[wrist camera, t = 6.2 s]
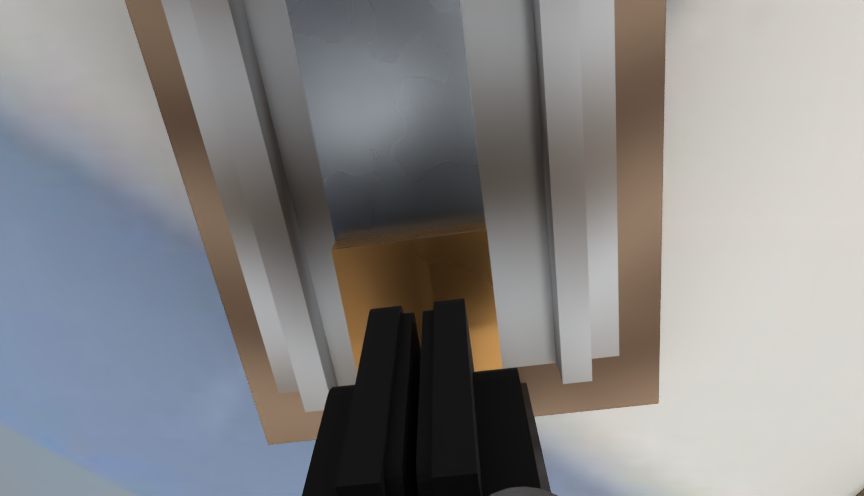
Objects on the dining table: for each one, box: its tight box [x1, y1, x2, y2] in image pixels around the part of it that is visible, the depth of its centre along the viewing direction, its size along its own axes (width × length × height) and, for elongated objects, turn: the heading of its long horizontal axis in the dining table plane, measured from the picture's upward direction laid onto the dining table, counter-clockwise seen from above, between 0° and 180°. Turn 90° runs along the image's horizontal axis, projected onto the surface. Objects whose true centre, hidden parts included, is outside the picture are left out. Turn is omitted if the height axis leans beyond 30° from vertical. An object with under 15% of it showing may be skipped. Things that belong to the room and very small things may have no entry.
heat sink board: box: [125, 0, 666, 493], centre depth 14 cm, size 22×14×9 cm, turn 8°
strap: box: [285, 0, 502, 372], centre depth 12 cm, size 18×3×2 cm, turn 8°
